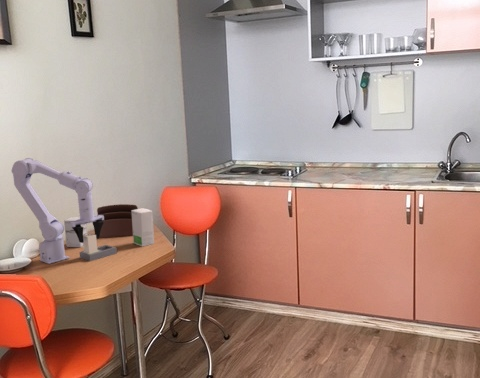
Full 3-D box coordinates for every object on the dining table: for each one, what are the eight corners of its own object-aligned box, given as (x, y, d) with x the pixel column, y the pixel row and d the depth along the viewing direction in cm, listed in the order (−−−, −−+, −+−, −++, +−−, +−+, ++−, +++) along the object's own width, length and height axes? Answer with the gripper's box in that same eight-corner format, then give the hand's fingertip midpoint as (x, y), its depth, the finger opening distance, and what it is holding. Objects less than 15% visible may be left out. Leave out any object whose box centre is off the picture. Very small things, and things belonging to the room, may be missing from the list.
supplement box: (66, 247, 245) (63, 220, 242) (74, 242, 252) (71, 216, 249) (80, 247, 243) (77, 220, 241) (89, 243, 250) (86, 216, 248)
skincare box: (133, 243, 245) (130, 210, 242) (145, 240, 249) (142, 207, 246) (143, 247, 238) (139, 212, 236) (155, 243, 243) (152, 209, 240)
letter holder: (99, 233, 268) (96, 205, 265) (139, 230, 269) (137, 202, 266) (95, 238, 258) (92, 209, 255) (137, 235, 259) (135, 207, 257)
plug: (89, 253, 223) (87, 237, 222) (84, 251, 226) (82, 235, 225) (97, 251, 226) (96, 234, 225) (92, 249, 229) (90, 233, 228)
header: (90, 261, 222) (89, 254, 221) (80, 257, 227) (79, 251, 227) (117, 253, 231) (116, 247, 231) (106, 250, 236) (105, 244, 236)
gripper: (75, 212, 215) (79, 245, 217) (106, 206, 225) (109, 237, 228) (66, 210, 220) (70, 243, 222) (97, 204, 230) (100, 235, 232)
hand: (89, 240), depth 225 cm, fingers open, 7 cm apart
